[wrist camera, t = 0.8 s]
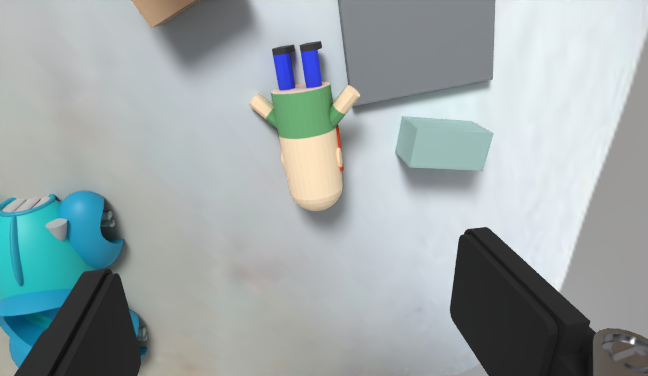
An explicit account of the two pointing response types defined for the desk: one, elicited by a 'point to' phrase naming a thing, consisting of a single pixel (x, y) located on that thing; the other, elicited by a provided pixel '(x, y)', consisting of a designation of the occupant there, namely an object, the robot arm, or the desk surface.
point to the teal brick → (443, 143)
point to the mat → (415, 45)
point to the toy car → (49, 261)
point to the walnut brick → (162, 9)
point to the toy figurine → (307, 127)
